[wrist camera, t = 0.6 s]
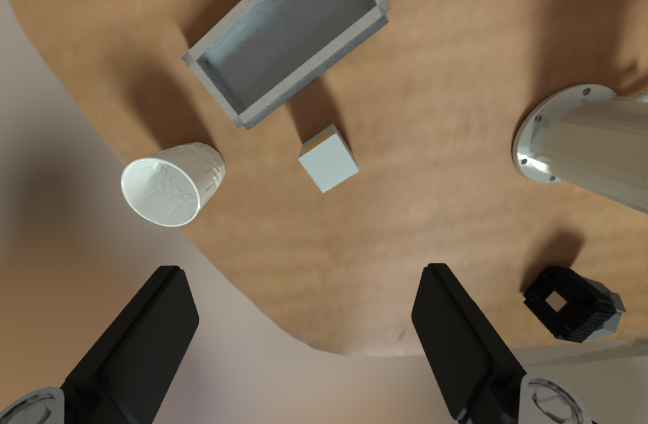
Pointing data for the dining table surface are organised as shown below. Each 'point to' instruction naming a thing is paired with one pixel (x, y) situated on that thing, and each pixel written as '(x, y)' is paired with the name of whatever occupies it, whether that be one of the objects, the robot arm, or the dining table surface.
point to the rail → (278, 50)
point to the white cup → (173, 183)
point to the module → (328, 158)
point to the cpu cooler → (574, 305)
